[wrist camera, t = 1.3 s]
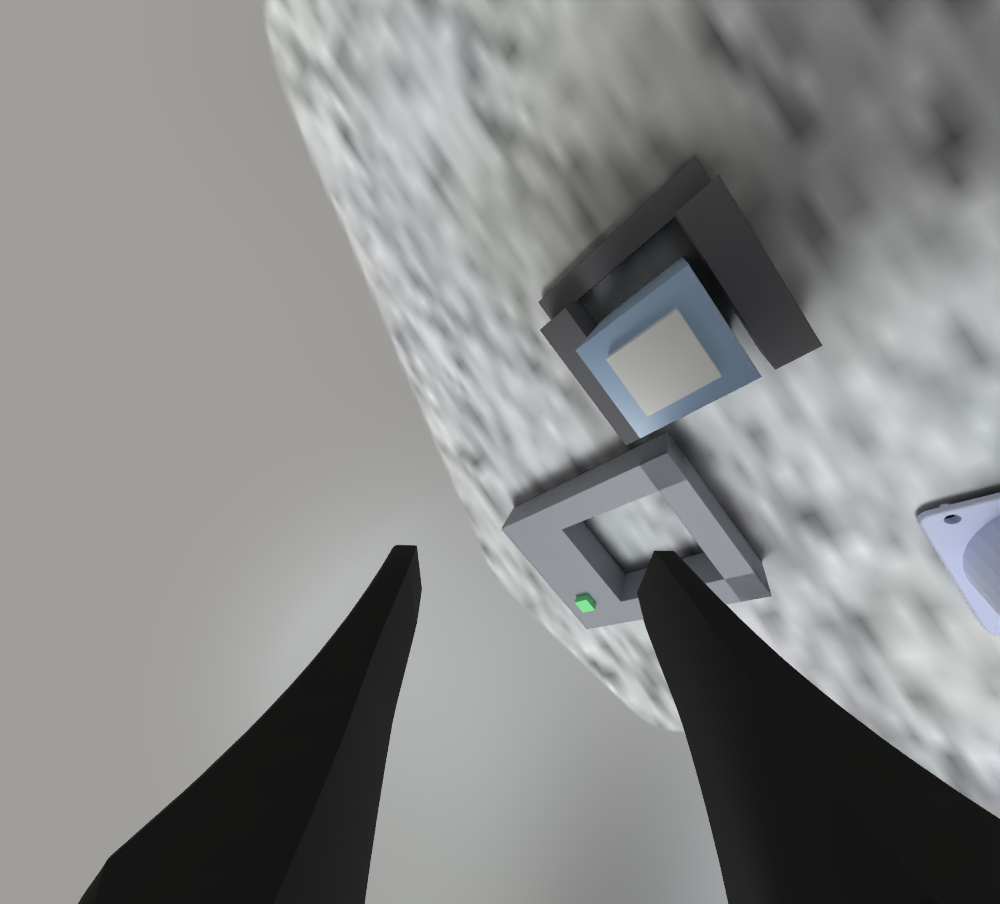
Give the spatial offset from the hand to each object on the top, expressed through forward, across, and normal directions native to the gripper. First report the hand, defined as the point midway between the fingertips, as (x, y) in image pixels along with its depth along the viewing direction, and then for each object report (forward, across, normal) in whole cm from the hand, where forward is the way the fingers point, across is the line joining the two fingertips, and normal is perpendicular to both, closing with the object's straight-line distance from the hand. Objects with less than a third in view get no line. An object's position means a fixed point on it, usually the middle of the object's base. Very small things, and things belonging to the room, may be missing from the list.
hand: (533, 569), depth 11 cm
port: (+10, -8, +8) cm, 15 cm away
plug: (+10, -7, -5) cm, 13 cm away
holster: (+10, -7, -5) cm, 13 cm away
